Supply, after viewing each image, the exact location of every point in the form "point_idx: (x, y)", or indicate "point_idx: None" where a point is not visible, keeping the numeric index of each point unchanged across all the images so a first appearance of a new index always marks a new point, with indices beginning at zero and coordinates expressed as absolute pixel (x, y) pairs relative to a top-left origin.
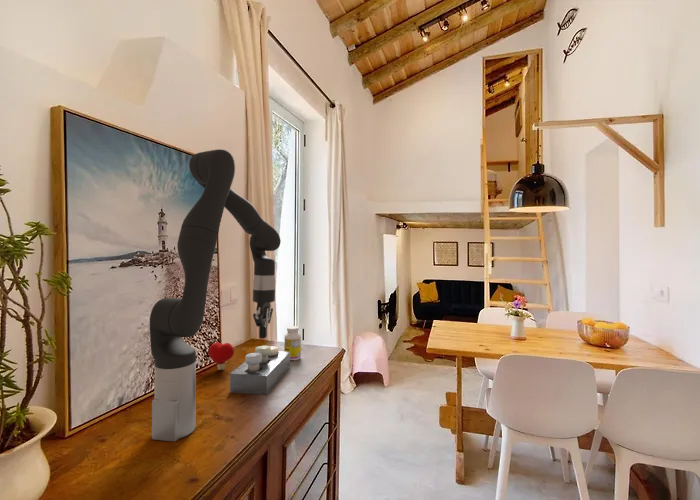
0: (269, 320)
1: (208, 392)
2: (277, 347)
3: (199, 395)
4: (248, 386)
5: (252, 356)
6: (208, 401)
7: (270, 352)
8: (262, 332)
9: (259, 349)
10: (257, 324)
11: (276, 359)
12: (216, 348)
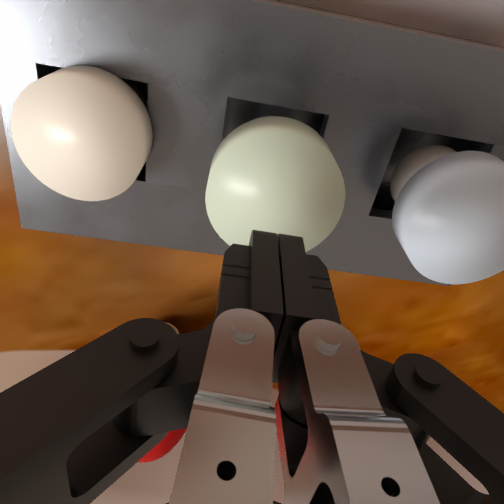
0: (133, 363)
1: (395, 304)
2: (34, 88)
3: (416, 321)
4: None
5: (499, 235)
6: (480, 281)
7: (279, 119)
8: (330, 304)
9: (320, 221)
10: (428, 452)
11: (218, 55)
12: (178, 431)
